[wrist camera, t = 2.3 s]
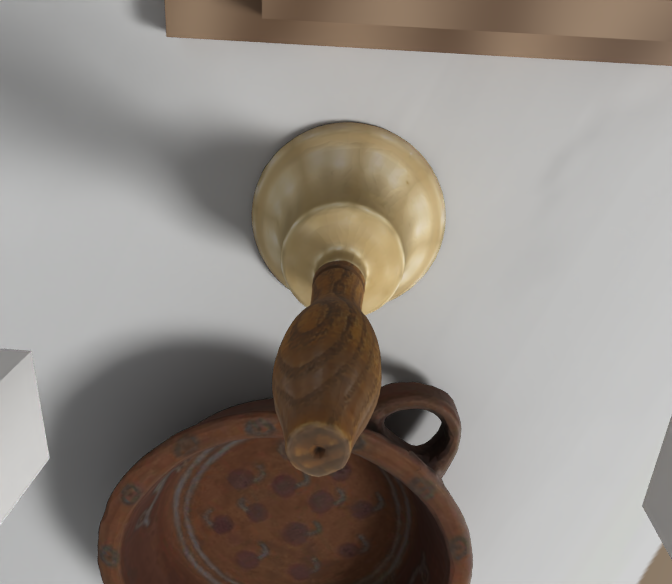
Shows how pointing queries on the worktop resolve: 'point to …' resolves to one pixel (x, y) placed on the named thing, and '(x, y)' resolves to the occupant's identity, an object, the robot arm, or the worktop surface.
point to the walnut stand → (442, 26)
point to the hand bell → (340, 273)
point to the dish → (290, 506)
